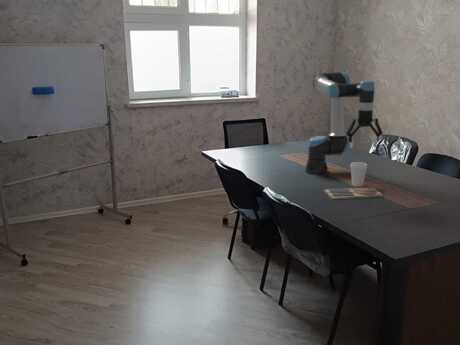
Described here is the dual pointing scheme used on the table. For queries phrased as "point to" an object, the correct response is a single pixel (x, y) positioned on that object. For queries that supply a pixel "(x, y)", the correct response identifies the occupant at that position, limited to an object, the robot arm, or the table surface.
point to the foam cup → (358, 173)
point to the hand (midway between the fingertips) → (363, 147)
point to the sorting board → (353, 193)
